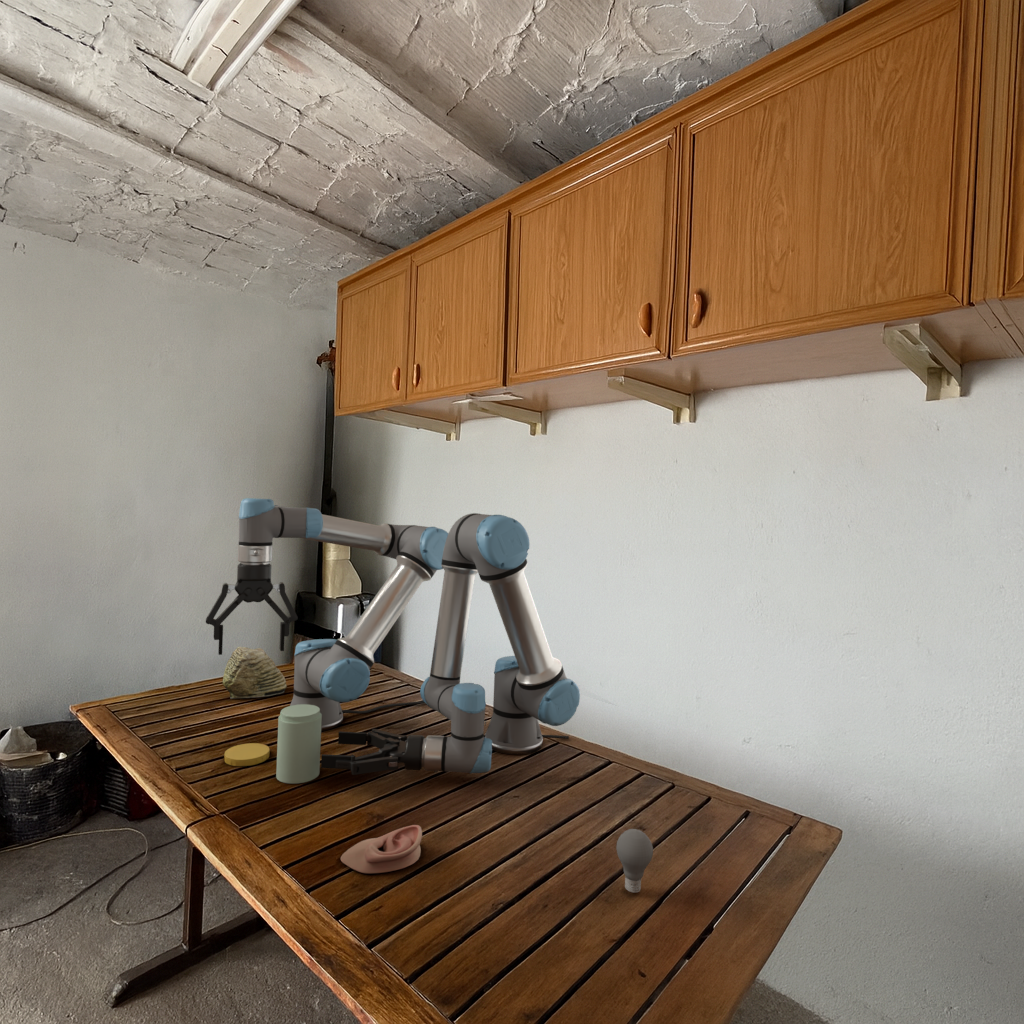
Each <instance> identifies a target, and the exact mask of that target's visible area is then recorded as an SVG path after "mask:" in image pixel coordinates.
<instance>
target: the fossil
mask: <svg viewBox="0 0 1024 1024" xmlns="http://www.w3.org/2000/svg"><path fill="white" fill-rule="evenodd" d="M222 676H223V677H222V685H223V687H224V688H225V690H226V691H228V693H229V698H230V699H250V698H264V697H271V696H275V695H281V694H284V693H285V691H286V689H287V687H288V686H287V680H286V678H285V676H284V674H283V673H282V672H281V669H279V668H278V667H277V665H276V663H275V662H274V660H273V659H272V658H271V657H270V656H269V655H268V654H267V653H266V652H265V650H264V649H263V648H260V647H258V648H251V647H247V646H246V647H245V646H238V647H237V648H236V649H235V650H233V651H232V653H231V656H230V657H229V659H228V660H227V663H226V666H225V668H224V671H223V675H222Z"/></svg>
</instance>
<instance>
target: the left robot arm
mask: <svg viewBox="0 0 1024 1024" xmlns="http://www.w3.org/2000/svg"><path fill="white" fill-rule="evenodd" d="M448 533H449V531H446V529H443V528H439V527H436V526H423V525H417V524H391V523H386V522H383V523H380V524H379V525H377V524H373V523H368V522H363V521H358V520H352V519H348V518H343V517H337V516H333V515H327V514H322V512H321V510H319V508H313V507H295V506H283V505H277V504H275V501H274V500H273V498H256V497H255V498H253V497H246V498H243V499H242V500H241V501H240V505H239V514H238V545H237V561H238V562H239V563H238V564H237V571H236V572H237V573H236V582H235V584H232V583H231V584H230V583H227V582H223V583H222V586H221V592H220V594H219V595H218V597H217V599H216V601H215V602H214V604H213V606H212V607H211V609H210V610H209V613H208V614H207V615H206V618H205V624H206V625H211V626H213V640H214V641H218V655H219V656H221V655H223V645H224V644H223V643H224V641H223V640H224V624H223V622H224V621H225V620H226V619H227V618H228V617H229V616H230V615H231V614H232V613H233V612H234V610H236V609H237V607H239V605H240V604H241V603H242V602H245V603H247V604H250V603H254V602H255V603H262V602H263V601H265V602H266V603H267V604H268V605H269V606H270V608H271V609H272V610H273V611H274V612H275V613H276V614H277V615H278V616H279V618H280V619H281V620H282V621H281V622H280V623H279V624H280V626H279V627H280V628H279V651H280V652H284V651H285V637H289V635H290V625H291V623H292V622H296V621H297V620H298V619H299V617H298V614H297V613H296V610H295V609H294V607H293V605H292V603H291V600H290V599H289V597H288V595H287V592H286V585H285V583H284V582H283V581H280V582H278V583H277V582H276V583H272V564H271V562H272V559H273V539H280V538H281V539H303V540H309V541H315V542H321V543H325V544H326V543H327V544H332V545H338V546H344V547H348V548H349V547H350V548H355V549H361V550H368V551H371V552H374V553H375V554H376V555H377V556H382V557H387V558H390V559H393V560H396V566H395V568H394V569H393V570H392V572H391V573H390V575H389V576H388V577H387V579H386V580H385V582H384V583H383V585H382V586H381V587H380V589H379V590H378V592H376V594H375V596H374V597H373V599H372V600H371V601H370V602H369V604H368V606H367V607H366V608H365V610H364V611H363V613H362V614H361V615H360V617H359V618H358V620H357V621H356V623H355V624H354V625H353V627H352V628H351V630H350V631H349V632H348V633H347V635H346V636H344V637H340V638H337V639H335V638H323V639H322V638H319V639H307V640H303V641H299V642H297V644H296V645H295V650H294V655H293V656H294V672H293V695H292V696H293V697H292V699H291V702H290V704H289V706H292V705H300V704H308V705H314V706H317V707H319V708H320V713H321V714H322V720H321V732H325V731H329V730H332V729H335V728H337V727H339V726H340V725H342V723H343V722H344V714H356V715H364V714H369V713H372V712H375V711H378V710H381V709H382V710H383V709H386V708H392V707H394V708H395V707H402V706H403V707H404V706H413V705H415V706H416V705H427V704H426V703H425V702H424V701H423V700H421V701H410V702H409V701H408V702H399V703H390V704H384V705H379V706H376V707H372V708H369V709H367V710H366V709H365V710H352V709H342V706H341V703H350V702H353V701H354V700H356V699H358V698H360V697H361V696H362V695H363V694H364V693H365V692H366V690H367V689H368V687H369V684H370V681H371V677H370V675H371V669H372V667H373V666H374V664H375V658H374V654H375V652H377V650H378V648H379V646H380V645H381V644H382V642H383V641H384V639H385V638H386V636H388V634H389V632H390V630H391V629H392V627H393V626H394V625H395V623H396V621H397V620H398V619H399V617H400V616H401V614H402V613H403V612H404V610H405V608H406V607H407V606H408V605H409V603H410V601H411V600H412V598H413V597H414V596H415V594H416V592H417V591H418V589H419V588H420V586H421V585H422V583H424V582H428V581H431V580H432V579H433V577H434V575H435V574H436V572H437V571H442V570H444V569H443V567H442V566H441V563H442V557H443V551H444V546H445V542H446V539H447V536H448ZM273 589H274V590H275V592H276V593H279V596H280V597H281V599H282V601H283V604H284V605H285V607H286V609H287V611H288V613H289V615H288V616H287V614H286V613H285V612H284V610H282V609H281V607H280V606H279V605H278V604H277V603H276V602H275V601H274V600H273V599H272V597H271V596H270V595H269V594H270V593H271V592H272V591H273ZM233 590H234V591H235V592H236V593H237V596H236V597H235V598H234V599H233V601H232V602H231V603H229V604H228V606H227V607H226V608H225V609H224V610H223V611H222V612H221V613H220V614H219V615H218V616H217V617H216V615H217V614H218V612H219V610H220V609H221V606H222V605H223V603H224V601H225V599H226V598H227V596H228V594H231V593H232V591H233ZM215 617H216V618H215Z"/></svg>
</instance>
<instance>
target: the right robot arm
mask: <svg viewBox="0 0 1024 1024" xmlns="http://www.w3.org/2000/svg"><path fill="white" fill-rule="evenodd" d="M530 545H531V543H530V537H529V534H528V532H527V530H526V528H525V527H524V525H523V524H522V523H521V522H519V521H518V520H517V519H515V518H513V517H510V516H507V515H504V514H503V515H502V514H483V513H475V512H473V513H467V514H465V515H462V516H461V517H460V518H458V519H457V520H456V521H455V522H454V523H453V525H452V526H451V528H450V530H449V531H448V536H447V539H446V542H445V546H444V551H443V557H442V563H441V566H442V567H443V569H442V570H443V571H444V573H443V581H442V587H441V588H442V589H441V593H440V594H441V595H440V600H439V601H440V602H439V609H438V614H437V615H438V616H437V621H436V622H437V623H436V630H435V636H434V643H433V651H432V658H431V665H430V672H429V676H428V677H426V678H425V679H424V681H423V682H422V684H421V686H420V691H419V694H420V698H421V701H424V702H425V703H426V704H425V705H427V706H428V707H429V708H430V709H432V710H434V711H436V712H437V713H439V714H441V715H442V716H443V717H444V718H446V719H447V720H449V721H451V722H450V736H444V735H430V734H429V735H427V736H426V737H425V736H424V735H423V734H409V735H404V734H403V735H402V734H397V733H393V732H389V731H385V730H381V729H377V728H372V729H371V731H367V732H364V731H363V732H361V731H360V732H359V731H338V738H337V739H338V740H337V744H338V745H353V746H354V745H355V746H366V747H370V746H373V747H374V748H377V749H378V751H375V752H371V753H367V754H363V755H359V756H355V755H354V754H351V755H350V754H349V755H345V754H326V753H322V754H321V755H320V769H330V770H331V769H333V770H335V769H336V770H350V771H351V775H352V776H356V775H358V776H359V775H363V774H370V773H376V772H377V773H378V772H383V771H397V770H398V769H399V764H403V765H404V769H405V770H406V771H422V770H424V771H426V772H427V771H428V772H433V773H435V774H437V773H438V772H444V773H445V772H446V773H447V772H449V773H461V774H462V773H463V774H464V773H465V774H486V773H488V772H490V770H491V769H492V757H493V756H492V753H493V751H494V752H496V753H500V754H505V755H514V756H516V755H528V754H533V753H535V752H538V751H539V750H541V749H542V747H543V740H544V739H561V740H569V738H570V737H569V735H559V734H558V735H557V734H543V733H542V730H541V726H540V722H541V723H542V724H546V725H549V726H551V727H559V726H562V725H564V724H566V723H568V722H569V721H570V720H571V719H572V718H573V717H574V716H575V714H576V712H577V708H578V707H579V705H580V700H581V692H580V688H579V686H578V684H577V683H576V682H575V681H574V680H573V679H571V678H567V676H566V673H565V669H564V667H563V663H562V662H561V660H560V659H559V658H557V657H554V656H553V654H552V650H551V648H550V645H549V641H548V639H547V636H546V633H545V630H544V626H543V625H542V621H541V618H540V616H539V613H538V608H537V606H536V603H535V600H534V598H533V595H532V592H531V589H530V586H529V583H528V580H527V577H526V573H525V570H526V569H527V566H528V563H529V561H528V559H527V557H528V555H529V550H530V547H531V546H530ZM477 574H478V576H479V579H480V581H481V582H484V583H487V584H488V585H489V588H490V590H491V593H492V595H493V599H494V602H495V604H496V607H497V610H498V613H499V616H500V618H501V621H502V624H503V627H504V630H505V632H506V636H507V638H508V641H509V643H510V646H511V649H512V653H513V655H507V656H502V657H499V658H498V659H497V660H496V661H495V664H494V670H493V674H494V677H493V678H494V680H493V701H492V702H493V703H492V704H493V705H492V707H493V708H492V715H491V718H490V720H489V723H488V725H487V729H486V731H485V730H484V729H485V726H486V724H487V720H485V719H486V718H485V717H486V716H485V715H486V707H487V703H486V690H485V688H484V687H483V685H481V684H480V683H479V684H478V683H474V682H461V675H462V669H463V662H464V655H465V647H466V641H467V633H468V627H469V621H470V612H471V607H472V606H471V605H472V600H473V599H472V598H473V592H474V585H475V584H474V583H475V578H476V575H477ZM539 721H540V722H539ZM484 733H485V734H484Z"/></svg>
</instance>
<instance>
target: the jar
mask: <svg viewBox="0 0 1024 1024" xmlns="http://www.w3.org/2000/svg"><path fill="white" fill-rule="evenodd" d="M279 712H280V713H279V714H280V715H278V720H277V743H276V744H277V745H276V769H275V770H276V771H275V773H276V775H275V778H276V780H277V781H279V782H281V783H284V784H292V785H293V784H303V783H307V782H311V781H313V780H315V779H317V778H318V777H319V775H320V771H321V745H322V731H321V720H322V714H321V713H320V708H319V707H317V706H314V705H308V704H300V705H292V706H290V705H289V706H286V707H284V708H282V709H281V710H280V711H279Z"/></svg>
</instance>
